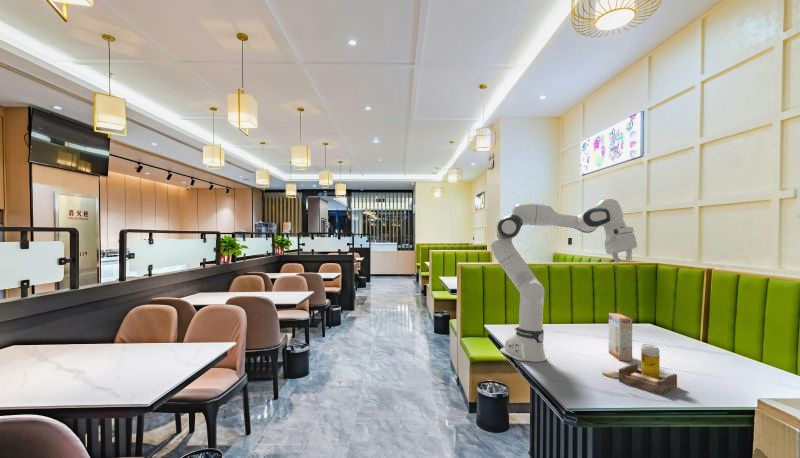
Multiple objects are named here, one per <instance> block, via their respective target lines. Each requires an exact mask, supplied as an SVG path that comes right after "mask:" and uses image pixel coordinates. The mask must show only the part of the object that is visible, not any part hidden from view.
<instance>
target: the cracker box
mask: <svg viewBox="0 0 800 458" xmlns="http://www.w3.org/2000/svg"><path fill="white" fill-rule="evenodd" d="M608 353H609V354H611V355H612V356H614V358H616V359H617V360H619V361H623V362H633V318H630V317H629V316H626V315H623V314H621V313H617V312H615V313H613V312H608Z"/></svg>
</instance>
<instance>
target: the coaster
mask: <svg viewBox="0 0 800 458" xmlns="http://www.w3.org/2000/svg"><path fill="white" fill-rule="evenodd" d="M601 372H602V373H601V374H602V375H603V376H605V377H607V378H611V379H617V380H619V371H616V370H615V371H614V370H608V369H605V370H602V371H601Z"/></svg>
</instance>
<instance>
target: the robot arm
mask: <svg viewBox="0 0 800 458" xmlns="http://www.w3.org/2000/svg"><path fill="white" fill-rule="evenodd" d="M526 225H529V226H541V227H544V226H547V227H549V226H551V227H552V226H554V227H555V226H556V227H561V228H562V227H565V228H571V229H576V230H577V231H579V232H581V233H585V234H590V233H594V232H595V231H596V230H597V229H598V228H599V227H603V229H604V232H605V239H604V248H605V253H606V255H611V257H613V259H614V262H615V263H621V258H619V253H623V252H625V253H626V256H625V260H626V261H632V260H633V257H632V255H633V249H637V245H638V242H637V238H636V235H635V233H634V232H635V230H634V227H632V226H628V225H626V222H625V221H624V212H623V210H622V207H621V204H620V203H619V202H618V200H616V199H613V198H612V199H611V198H608V199H602V200H600V201H599V202H598V203H597V204H595V205H594V206H593V207H591V208H589V209H587V210H585V211H584V212H582V213H580V214H577V215H572V214H571V215H570V214H563V213H559V212H557V211H555V210H554V208H553V207H552V206H551V205H547V204H544V203H531V202H530V203H529V202H528V203H525V202H524V203H518V204H516V205H514V207H512V211H511V214H510V215H507V216H505V217H503V218H501V219H500V220H499V221H497V225H496V235H497V237H496V238H495V239H494V240H493V241H492V242H491V244H490V249H491V252H492V254H493V255H494V258H495V259H496V261H497V262H498V263H499V265H500V267H501V268H502V269H503V271H504V272H505V274H506V275H507V277H508V278H509V280H510V281H511V282H512V284H513V286H514V287H515V288H516V290H518V292H519V310H518V319H519V320H518V327H514V331H516V332H515V333H514V334H513V335H512V336H510V337H508V338H507V339H506V340H505V342H504V347H502V348H500V349H499V352H500V353H502V354H503V355H504V354H505V355H507V356H508V357H510V358H513V359H515V360H517V361H522V362H533V363H537V362H538V363H541V362H545V361H546V360H547V356H546V353H545V349H544V332H545V331H544V329H543V328H544V327H543V325H544V324H543V320H544V319H543V318H544V305H545V287H544V286H543V284H542V283H541V282H540V281H539V280H538V279H537V277H536V276H535V274H534V273H533V271H532V270H531V268H530V267H529V265H528V264H527V263H526V261H525V260H524V257H522V255H521V254H520V253H519V252H518V250H517V248H516V247H515V246H514V244H513V239H514V238H515V237H517V236H518V234H519V233H520V231H521V228H522V226H526Z"/></svg>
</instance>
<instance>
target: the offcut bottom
mask: <svg viewBox="0 0 800 458" xmlns="http://www.w3.org/2000/svg"><path fill="white" fill-rule="evenodd" d="M631 377H633V378H637V379H640V380H643V381H646V382H650V383H653V384H656V385H658V381H659V379H656V378H652V377H649V376H645V375H642V374H639V373H632V374H631Z"/></svg>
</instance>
